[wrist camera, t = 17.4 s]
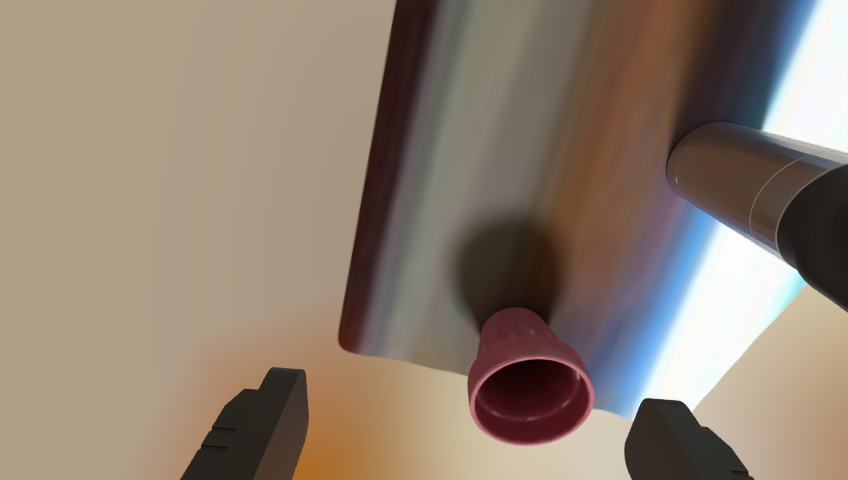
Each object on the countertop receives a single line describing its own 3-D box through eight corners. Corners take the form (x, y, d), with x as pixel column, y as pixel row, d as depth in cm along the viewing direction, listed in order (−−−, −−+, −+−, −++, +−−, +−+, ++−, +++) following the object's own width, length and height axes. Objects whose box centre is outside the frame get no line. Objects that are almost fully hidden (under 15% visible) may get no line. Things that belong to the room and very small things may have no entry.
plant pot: (542, 381, 62) (565, 458, 50) (451, 360, 61) (454, 435, 49) (581, 304, 56) (618, 371, 44) (481, 279, 55) (492, 342, 43)
